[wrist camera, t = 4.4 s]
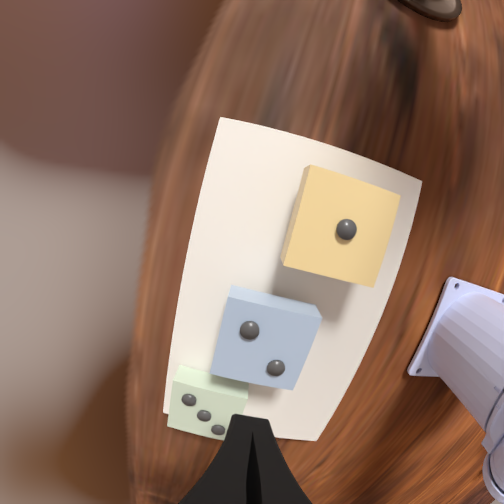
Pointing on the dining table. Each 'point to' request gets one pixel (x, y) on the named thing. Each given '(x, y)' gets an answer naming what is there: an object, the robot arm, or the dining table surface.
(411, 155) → the dining table surface
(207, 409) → the tile three
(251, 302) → the tile two
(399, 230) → the panel
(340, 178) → the tile one
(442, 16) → the candlestick
